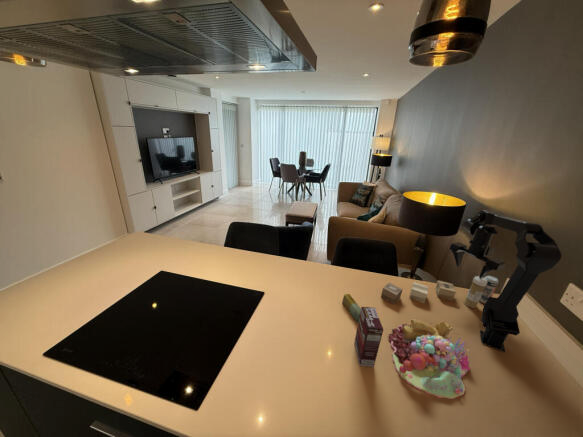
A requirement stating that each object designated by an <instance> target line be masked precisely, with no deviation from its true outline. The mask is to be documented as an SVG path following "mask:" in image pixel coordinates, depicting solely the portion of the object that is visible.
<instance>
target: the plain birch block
mask: <svg viewBox="0 0 583 437" xmlns="http://www.w3.org/2000/svg"><path fill="white" fill-rule="evenodd" d="M428 291H429V286H427V285H423V284H420V283H417V282H414V281H413V283H412V286H411V289H410V293H409V296H408V297H409V299H412V300H414V301H417V302H420V303H422V304H425V302H426V300H427V296H428Z"/></svg>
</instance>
